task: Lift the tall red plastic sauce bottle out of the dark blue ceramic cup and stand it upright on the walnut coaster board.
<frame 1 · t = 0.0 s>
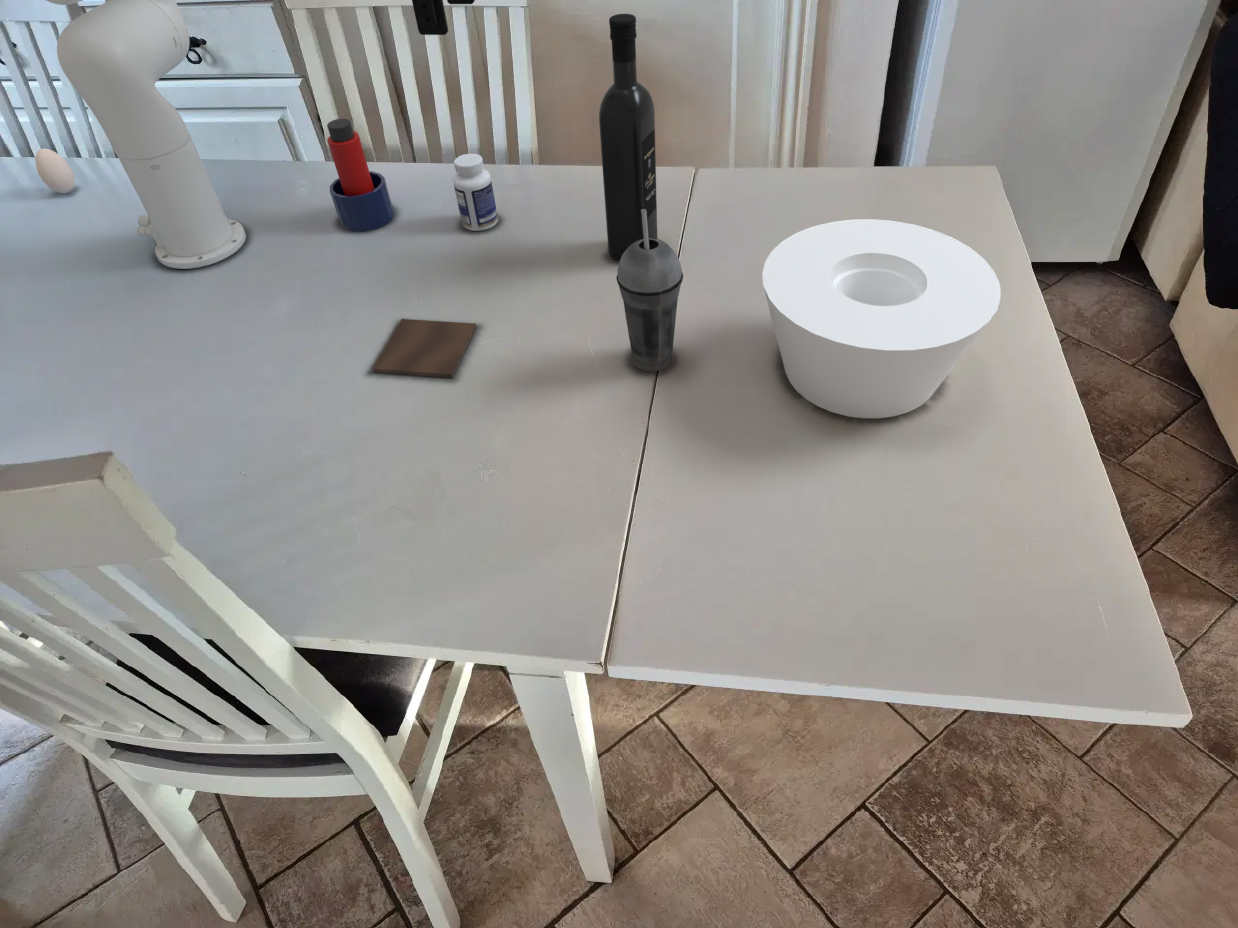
hand: (448, 18, 91), 31 cm above the table, tool pointing down, fingers open, 9 cm apart
egg: (67, 193, 135), on the table
beverage cup: (652, 360, 97), on the table
sauce bottle: (366, 215, 123), resting on blue cup
coaster: (426, 349, 100), on the table
pill bottle: (480, 224, 121), on the table
blue cup: (367, 218, 123), on the table
wine bottle: (633, 253, 113), on the table
recessed white cone: (859, 368, 93), on the table
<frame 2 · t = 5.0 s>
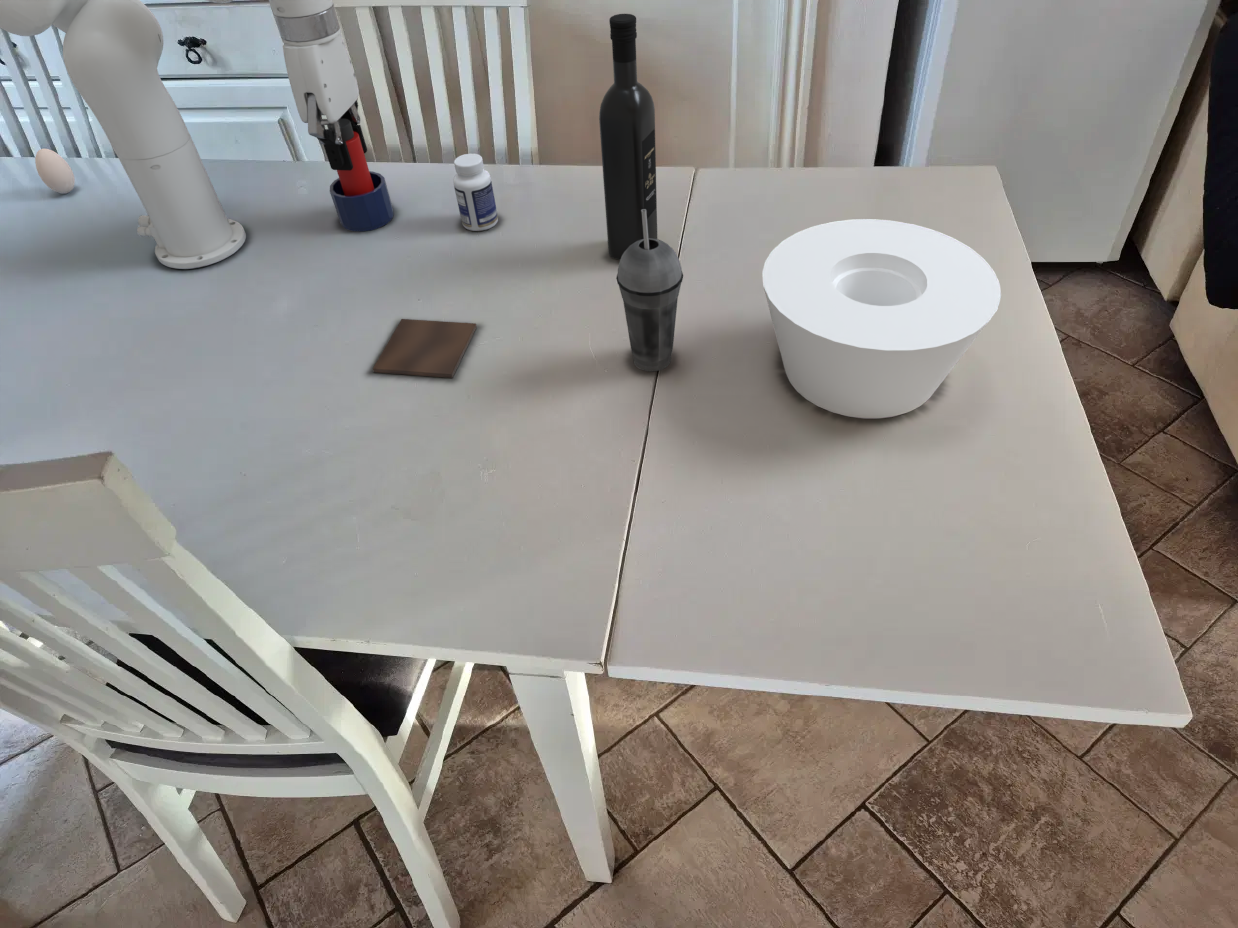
hand: (349, 159, 117), 9 cm above the table, tool pointing down, fingers closed on sauce bottle, 4 cm apart
sauce bottle: (366, 215, 123), point 1 cm above the table, touching blue cup, gripper
everything else where it was.
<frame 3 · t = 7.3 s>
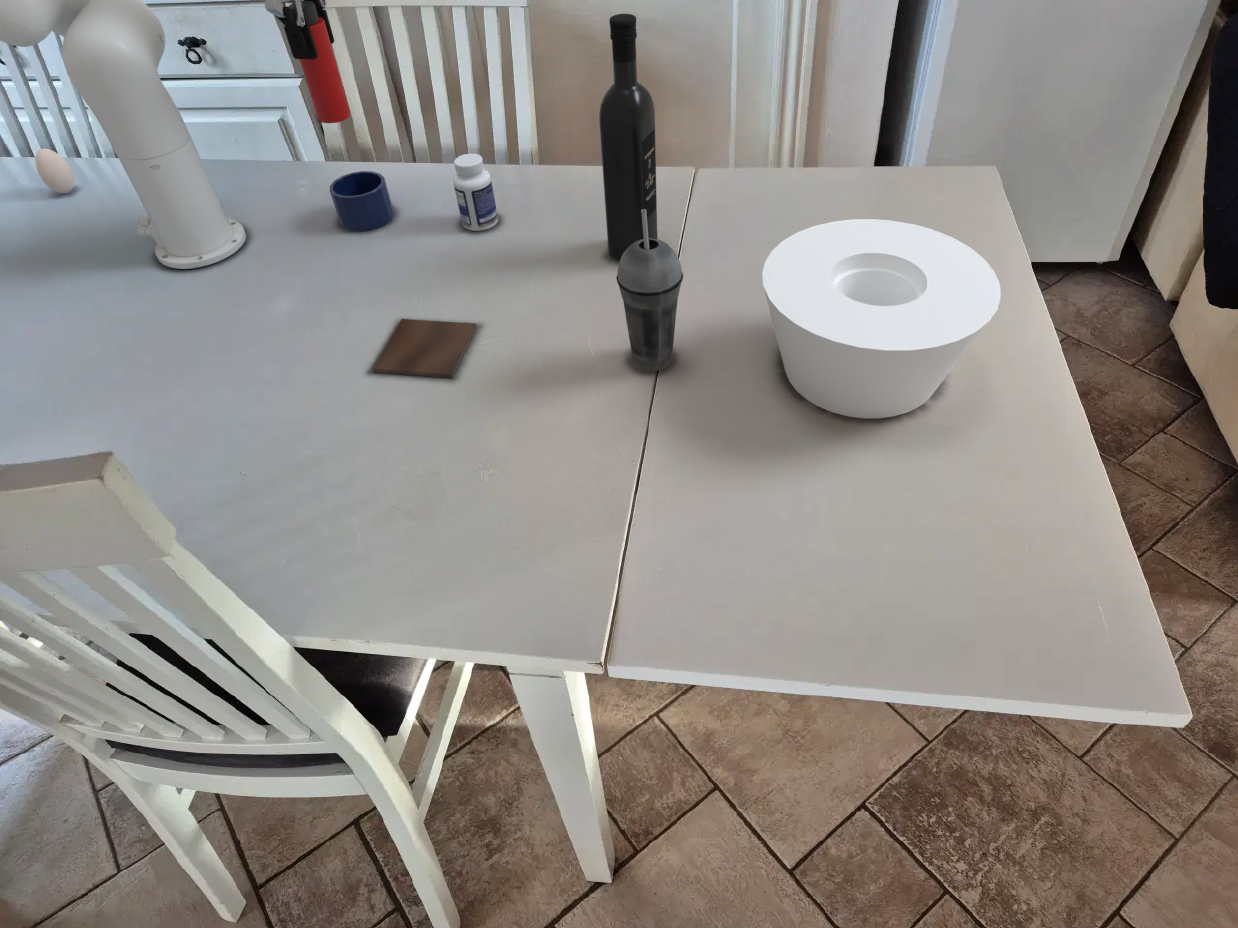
hand: (314, 49, 105), 24 cm above the table, tool pointing down, fingers closed on sauce bottle, 4 cm apart
sauce bottle: (334, 116, 112), point 16 cm above the table, touching gripper
everything else where it was.
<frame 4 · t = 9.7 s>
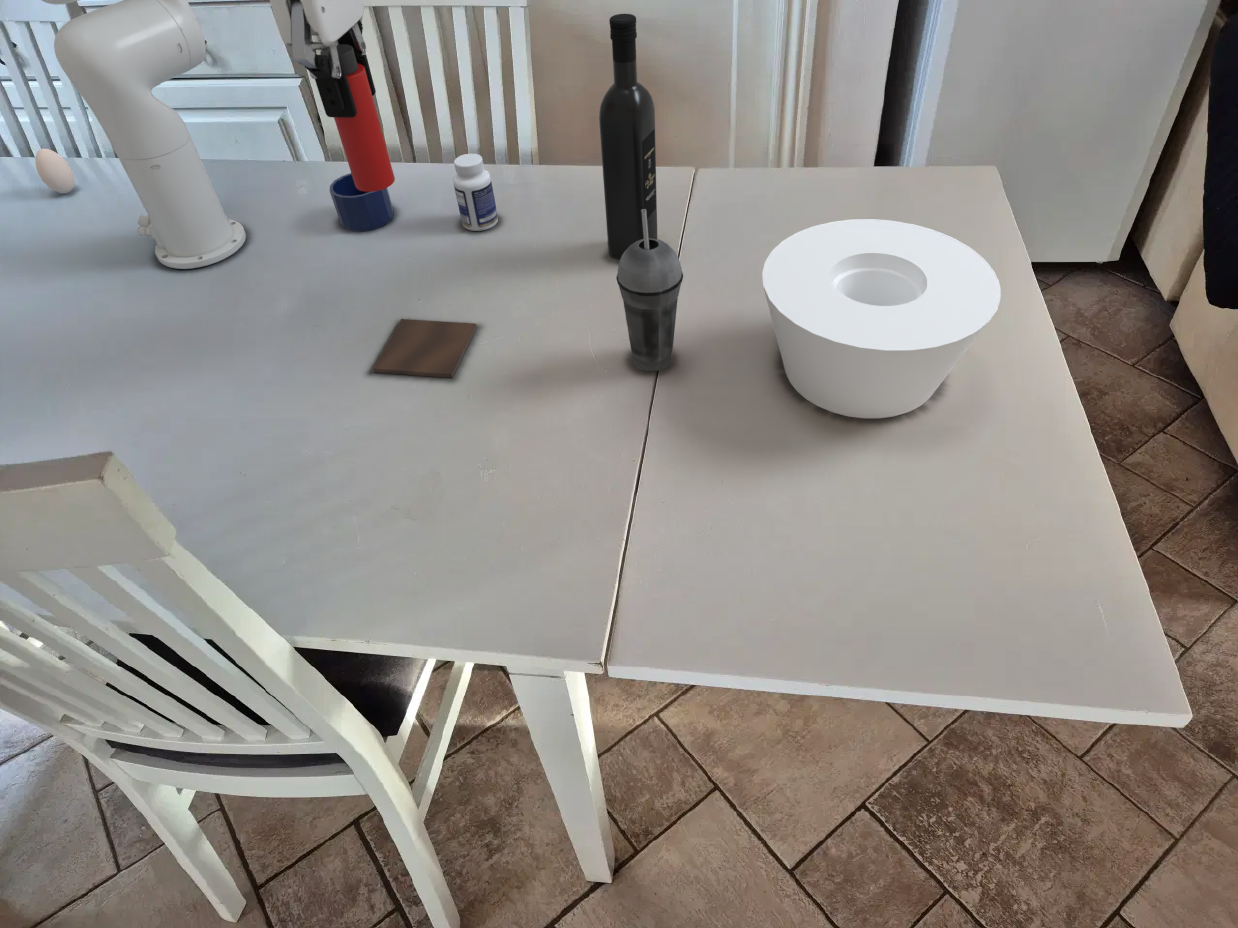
hand: (351, 103, 84), 28 cm above the table, tool pointing down, fingers closed on sauce bottle, 4 cm apart
sauce bottle: (375, 182, 91), point 19 cm above the table, touching gripper
everything else where it was.
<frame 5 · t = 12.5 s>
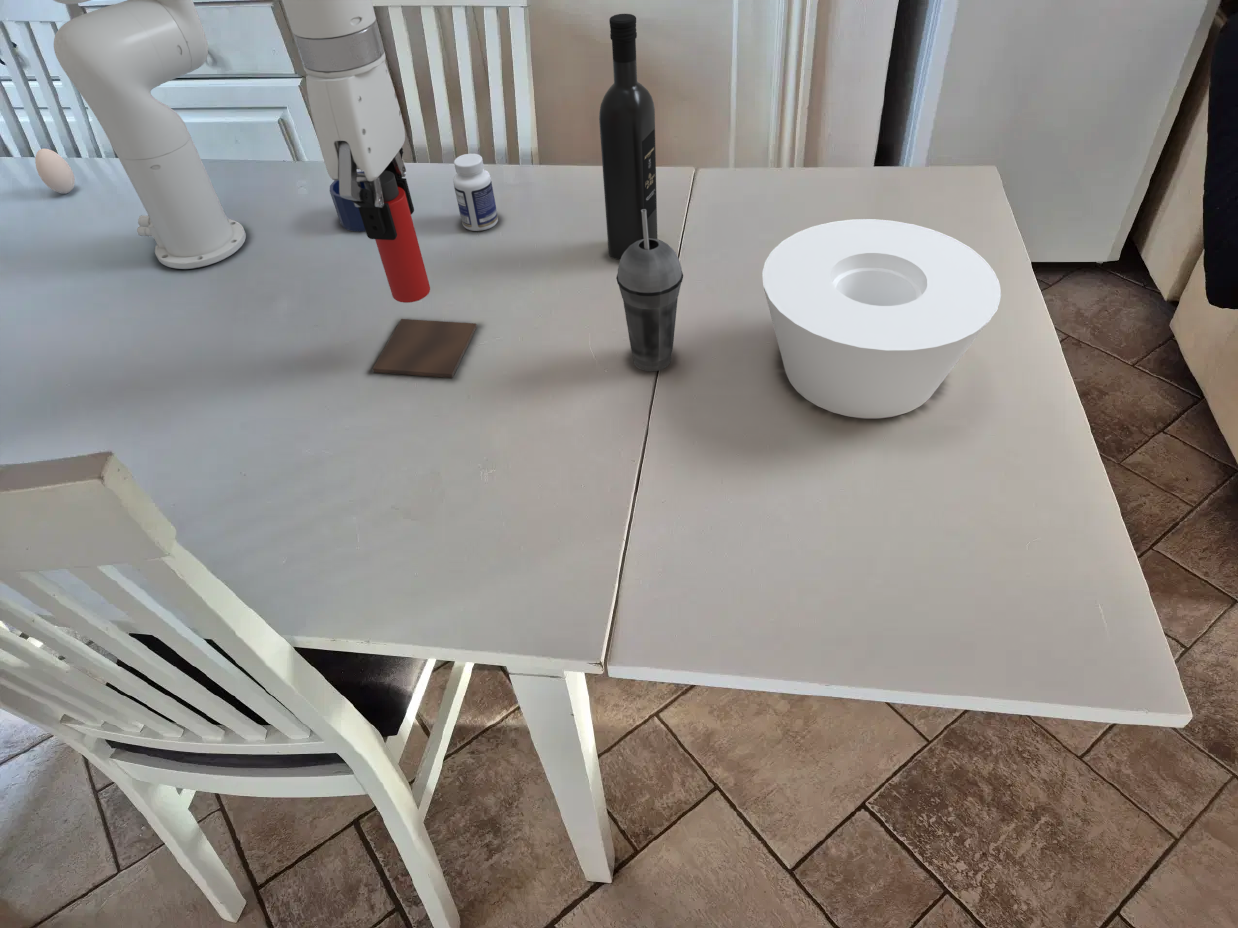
hand: (391, 223, 88), 17 cm above the table, tool pointing down, fingers closed on sauce bottle, 4 cm apart
sauce bottle: (411, 291, 94), point 8 cm above the table, touching gripper
everything else where it was.
when the fingers open (9 cm above the table, at t = 14.7 s): sauce bottle stays where it is, resting on coaster.
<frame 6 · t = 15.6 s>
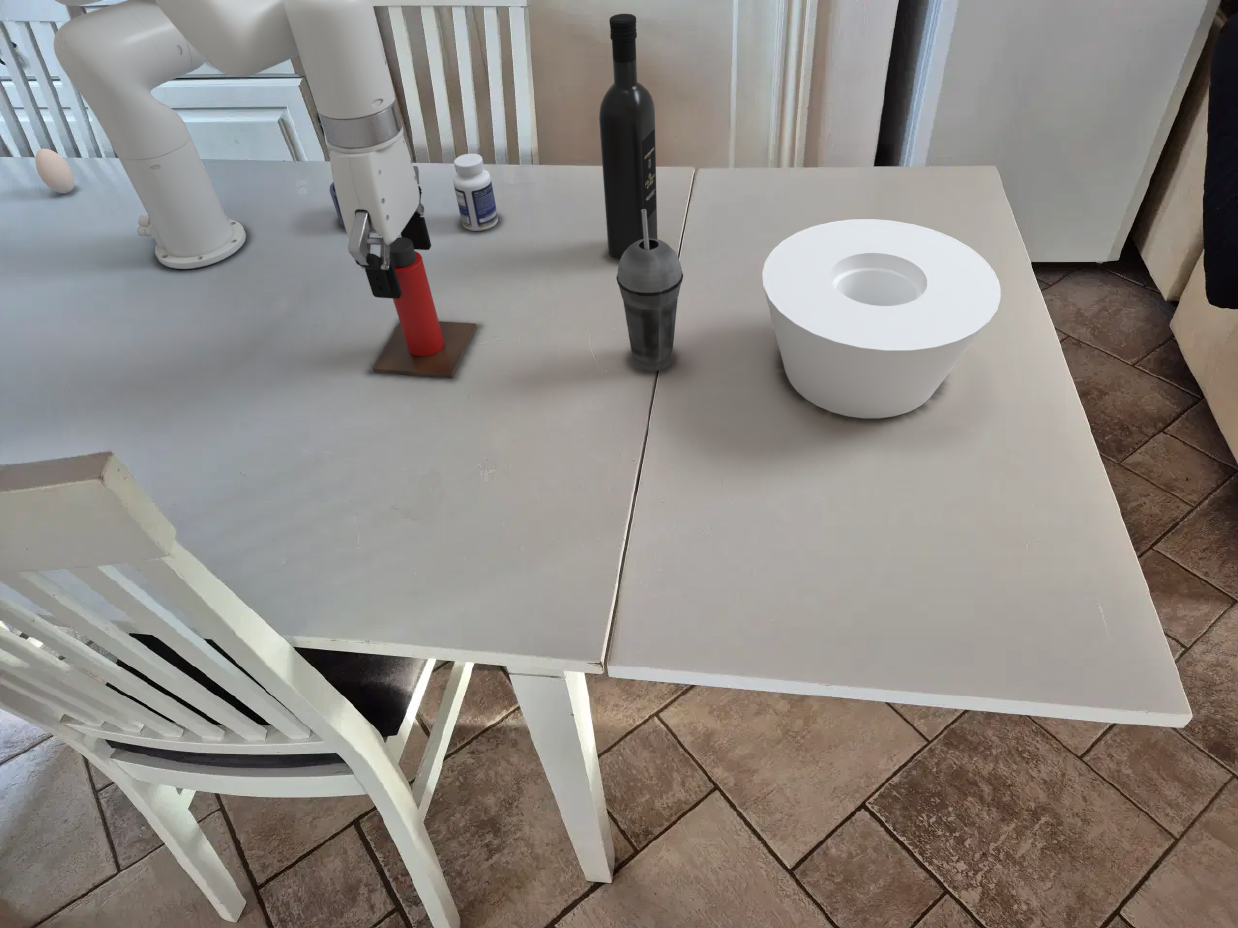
hand: (403, 271, 92), 11 cm above the table, tool pointing down, fingers open, 9 cm apart
sauce bottle: (426, 345, 100), point 1 cm above the table, touching coaster
everything else where it was.
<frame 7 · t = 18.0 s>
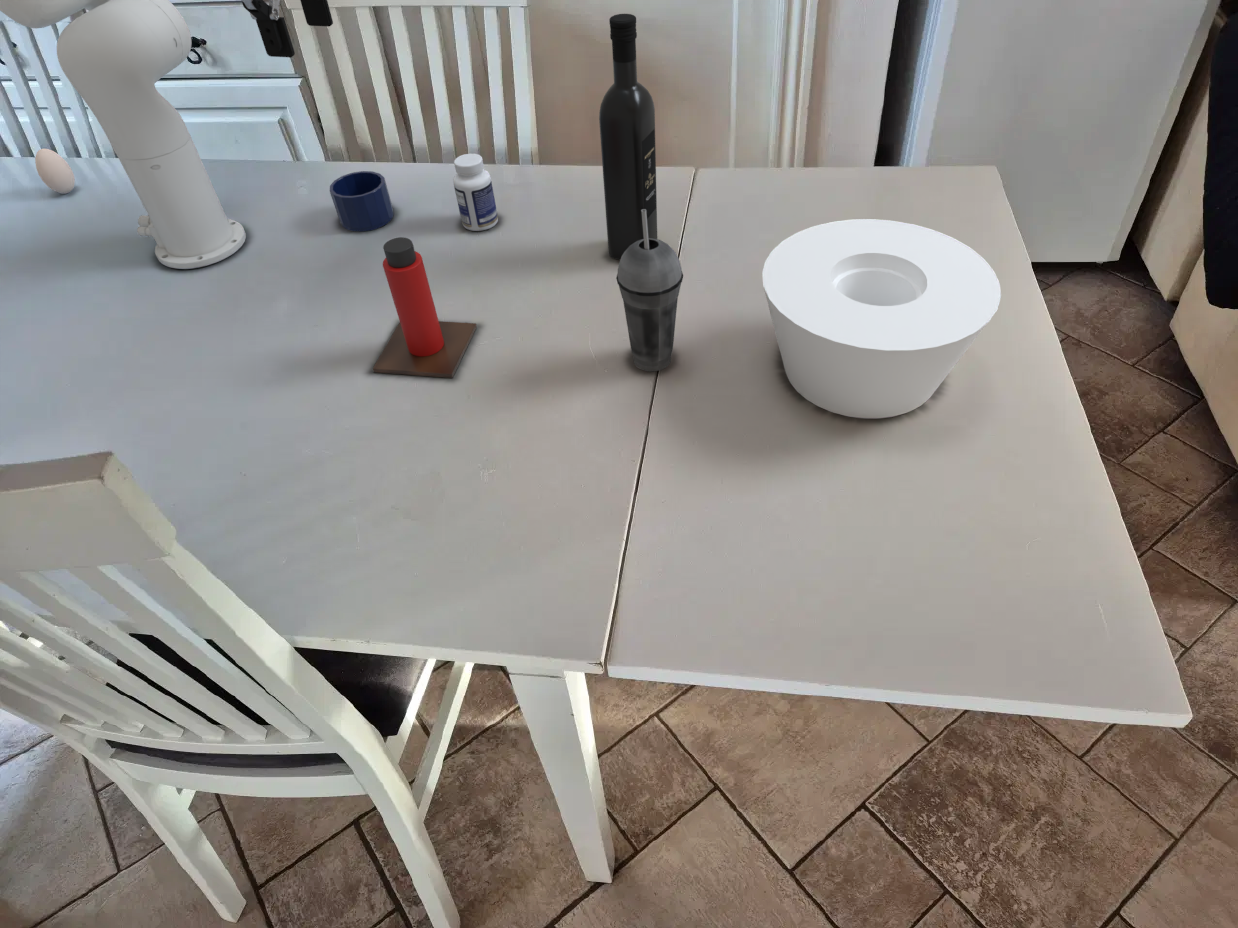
hand: (301, 40, 95), 29 cm above the table, tool pointing down, fingers open, 9 cm apart
nothing on the table moved.
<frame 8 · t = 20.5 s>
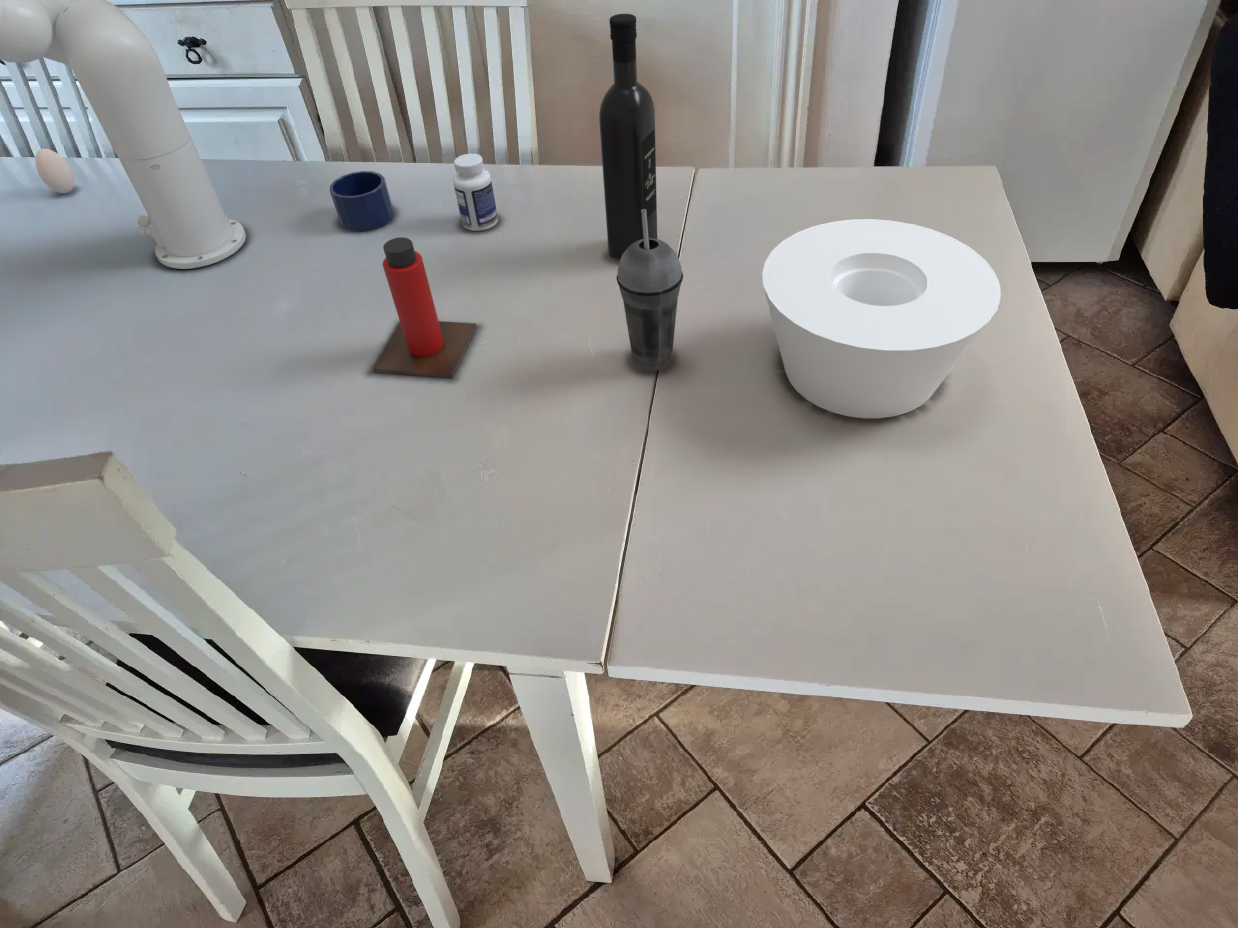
nothing on the table moved.
at the end: sauce bottle inside the target area on the coaster (0.1 cm from its centre), point 0.6 cm above the coaster's base; sauce bottle tilted 0°; sauce bottle touching coaster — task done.
